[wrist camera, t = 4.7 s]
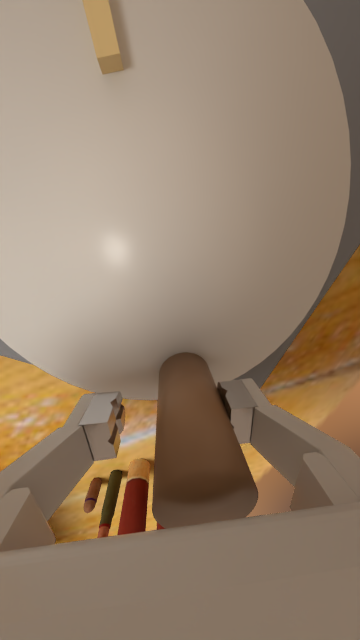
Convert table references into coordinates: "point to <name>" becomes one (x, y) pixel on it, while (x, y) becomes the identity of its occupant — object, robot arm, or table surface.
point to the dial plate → (356, 84)
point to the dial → (167, 209)
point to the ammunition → (132, 503)
